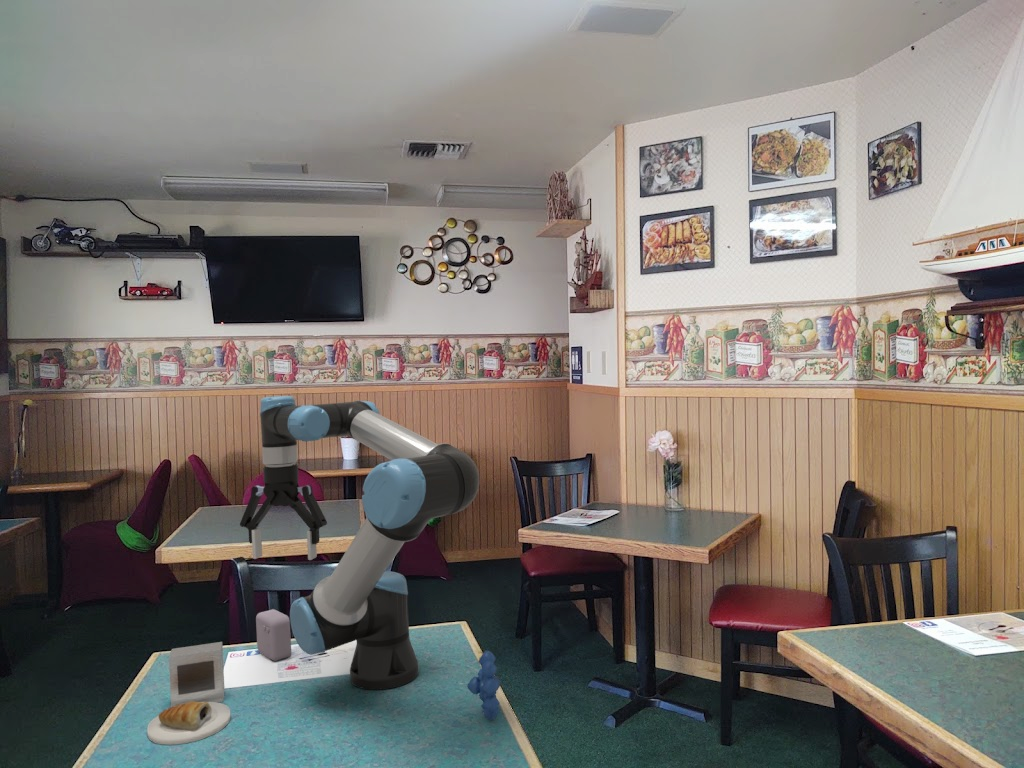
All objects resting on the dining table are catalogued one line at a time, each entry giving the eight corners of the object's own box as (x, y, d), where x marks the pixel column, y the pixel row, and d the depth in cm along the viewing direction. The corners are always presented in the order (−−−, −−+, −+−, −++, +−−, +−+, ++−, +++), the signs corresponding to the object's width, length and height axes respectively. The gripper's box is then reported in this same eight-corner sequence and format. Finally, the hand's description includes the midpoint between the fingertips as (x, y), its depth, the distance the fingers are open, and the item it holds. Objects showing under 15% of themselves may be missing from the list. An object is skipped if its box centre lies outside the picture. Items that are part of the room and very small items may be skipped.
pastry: (151, 730, 142) (150, 710, 142) (171, 714, 149) (170, 695, 149) (197, 731, 141) (196, 711, 141) (215, 714, 148) (214, 695, 147)
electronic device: (255, 652, 183) (253, 612, 183) (273, 647, 186) (271, 607, 186) (273, 663, 176) (271, 621, 175) (291, 657, 179) (289, 616, 179)
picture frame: (224, 691, 161) (222, 641, 161) (223, 702, 156) (220, 650, 156) (174, 699, 158) (171, 648, 158) (171, 710, 153) (168, 657, 153)
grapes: (466, 702, 152) (464, 644, 151) (499, 699, 152) (497, 641, 152) (469, 730, 140) (467, 667, 140) (505, 727, 141) (503, 664, 140)
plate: (245, 709, 152) (245, 703, 152) (200, 747, 137) (199, 740, 137) (180, 705, 155) (180, 699, 155) (129, 741, 141) (129, 734, 140)
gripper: (339, 461, 169) (343, 554, 169) (240, 462, 174) (244, 552, 175) (324, 466, 162) (328, 563, 162) (221, 467, 167) (225, 561, 167)
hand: (284, 558), depth 168 cm, fingers open, 13 cm apart
